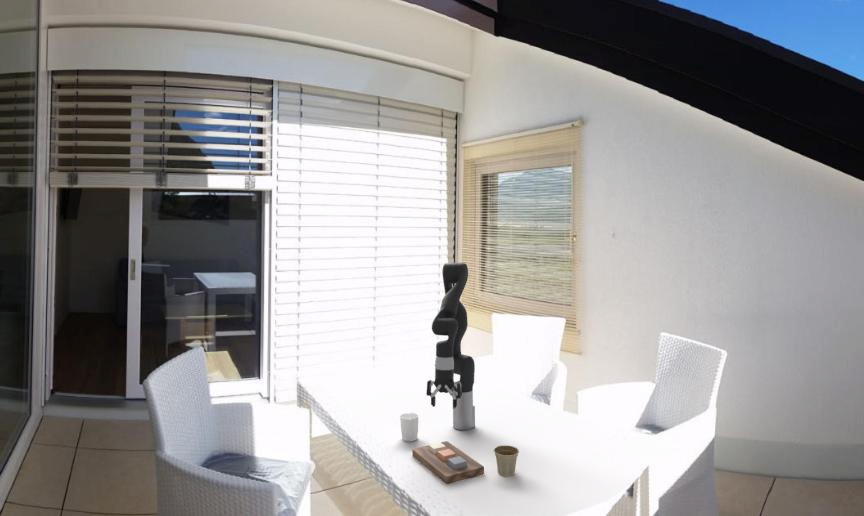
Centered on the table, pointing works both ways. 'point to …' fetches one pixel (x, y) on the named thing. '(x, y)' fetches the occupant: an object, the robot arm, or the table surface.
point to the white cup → (409, 426)
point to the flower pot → (506, 459)
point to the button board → (442, 467)
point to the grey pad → (457, 463)
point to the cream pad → (436, 447)
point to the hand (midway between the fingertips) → (443, 407)
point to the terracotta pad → (446, 455)
